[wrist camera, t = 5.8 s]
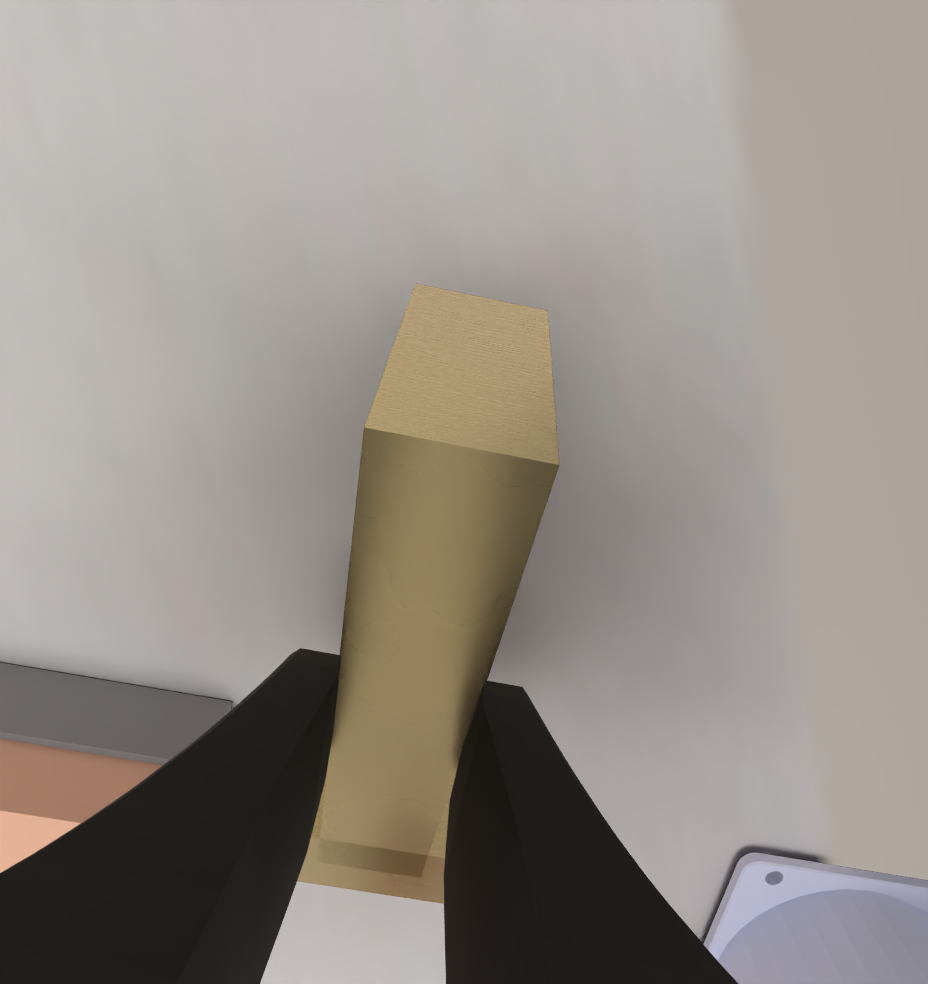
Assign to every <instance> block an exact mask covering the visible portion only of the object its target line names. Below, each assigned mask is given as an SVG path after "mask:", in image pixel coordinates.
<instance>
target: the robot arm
mask: <svg viewBox="0 0 928 984" xmlns="http://www.w3.org/2000/svg"><path fill="white" fill-rule="evenodd" d="M339 658H340V655H335V654H330V653H324V652H318V651H312V650H307V649H301V648H300V649H299V650H297V651H296V652H294V653H292V654H291V655H290V656H289V657H288V658H287V659H286V660H285V661H284V662H283V663H282V664H281V665H280V666H279V667H278V668H277V669H276V670H275V671H274V672H273V673H272V674H271V675H270V676H269V677H268V678H266V679H265V680H264V681H263V682H262V683H261V684H260V685H259V686H258V687H257V688H256V689H255V690H254V691H252V692H251V693H250V694H249V695H248V696H247V697H246V698H245V699H244V700H242V701H241V702H240V703H239V704H238V705H237V706H236V707H234V708H233V709H232V710H231V711H230V712H229V713H227V714H226V715H225V716H224V717H223V718H221V719H220V720H219V721H218V722H217V723H216V724H214V725H213V726H212V727H211V728H210V729H208V730H207V731H206V732H205V733H204V734H203V735H201V736H200V737H199V738H198V739H196V740H195V741H194V742H193V743H191V744H190V745H189V746H188V747H186V748H185V749H184V750H182V751H181V752H180V753H178V754H177V755H176V756H174V757H173V758H172V759H171V760H169V761H168V762H167V763H165V764H164V765H163V766H161V767H160V768H159V769H157V770H156V771H155V772H153V773H152V774H151V775H149V776H148V777H147V778H145V779H144V780H143V781H141V782H140V783H139V784H137V785H136V786H135V787H133V788H132V789H131V790H129V791H128V792H126V793H125V794H123V795H122V796H121V797H119V798H118V799H116V800H115V801H113V802H112V803H110V804H109V805H108V806H106V807H105V808H103V809H102V810H100V811H99V812H97V813H96V814H94V815H93V816H91V817H90V818H88V819H87V820H85V821H84V822H82V823H81V824H79V825H78V826H76V827H74V828H73V829H71V830H70V831H68V832H67V833H65V834H64V835H62V836H60V837H59V838H57V839H56V840H54V841H53V842H51V843H49V844H48V845H46V846H45V847H43V848H42V849H40V850H38V851H37V852H35V853H33V854H32V855H30V856H28V857H27V858H25V859H23V860H21V861H20V862H18V863H16V864H15V865H13V866H11V867H10V868H8V869H6V870H4V871H3V872H1V873H0V984H260V982H261V979H262V976H263V973H264V971H265V968H266V965H267V962H268V960H269V957H270V954H271V951H272V949H273V946H274V943H275V940H276V938H277V935H278V932H279V929H280V927H281V924H282V921H283V918H284V916H285V913H286V910H287V907H288V905H289V902H290V899H291V896H292V893H293V891H294V888H295V885H296V882H297V880H298V877H299V874H300V871H301V868H302V866H303V863H304V860H305V857H306V854H307V851H308V847H309V843H310V839H311V835H312V831H313V827H314V823H315V819H316V815H317V812H318V808H319V804H320V800H321V796H322V792H323V788H324V784H325V780H326V774H327V767H328V761H329V755H330V749H331V743H332V737H333V730H334V721H335V711H336V702H337V693H338V684H339V675H340V667H339ZM773 871H774V872H773ZM770 872H772V873H770ZM444 918H445V959H446V984H928V880H922V879H915V878H910V877H903V876H897V875H891V874H885V873H879V872H873V871H867V870H860V869H855V868H848V867H842V866H836V865H830V864H824V863H818V862H812V861H805V860H799V859H793V858H787V857H781V856H775V855H769V854H763V853H749V854H746V855H744V856H743V857H742V858H741V859H740V860H739V861H738V863H737V865H736V868H735V870H734V872H733V875H732V877H731V880H730V882H729V884H728V887H727V889H726V892H725V894H724V896H723V899H722V901H721V903H720V906H719V908H718V911H717V913H716V915H715V918H714V920H713V923H712V925H711V927H710V930H709V932H708V935H707V937H706V939H705V942H704V944H703V943H702V942H701V941H700V940H699V939H698V938H697V936H696V935H695V934H694V933H693V932H692V931H691V929H690V928H689V927H688V926H687V925H686V924H685V922H684V921H683V920H682V919H681V918H680V917H679V915H678V914H677V913H676V912H675V911H674V910H673V908H672V907H671V906H670V905H669V904H668V903H667V901H666V900H665V899H664V898H663V896H662V895H661V894H660V893H659V891H658V890H657V889H656V888H655V886H654V885H653V884H652V883H651V881H650V880H649V879H648V878H647V876H646V875H645V874H644V872H643V871H642V870H641V868H640V867H639V866H638V864H637V863H636V862H635V860H634V859H633V858H632V856H631V855H630V854H629V852H628V851H627V850H626V848H625V847H624V846H623V844H622V843H621V841H620V840H619V839H618V837H617V836H616V835H615V833H614V832H613V830H612V829H611V827H610V826H609V825H608V823H607V822H606V820H605V819H604V817H603V816H602V815H601V813H600V811H599V810H598V808H597V807H596V805H595V804H594V802H593V801H592V799H591V798H590V796H589V795H588V793H587V792H586V790H585V789H584V787H583V786H582V784H581V783H580V781H579V780H578V778H577V777H576V775H575V773H574V772H573V770H572V769H571V767H570V765H569V764H568V762H567V761H566V759H565V757H564V756H563V754H562V752H561V751H560V749H559V747H558V746H557V744H556V742H555V741H554V739H553V737H552V736H551V734H550V732H549V731H548V729H547V727H546V726H545V724H544V722H543V720H542V719H541V717H540V715H539V713H538V712H537V710H536V708H535V707H534V705H533V703H532V701H531V700H530V698H529V696H528V695H527V693H526V692H525V690H524V689H523V687H519V686H514V685H508V684H502V683H496V682H491V681H487V682H486V685H485V688H484V691H483V692H481V694H480V697H479V700H478V703H477V706H476V709H475V712H474V715H473V718H472V721H471V724H470V727H469V730H468V733H467V736H466V739H465V742H464V745H463V748H462V751H461V754H460V758H459V763H458V767H457V771H456V775H455V780H454V784H453V788H452V792H451V797H450V802H449V814H448V826H447V838H446V851H445V864H444Z"/></svg>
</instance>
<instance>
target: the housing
mask: <svg viewBox="0 0 928 984" xmlns="http://www.w3.org/2000/svg"><path fill="white" fill-rule="evenodd" d="M231 707H232V702H231V701H225V700H219V699H214V698H208V697H202V696H196V695H190V694H184V693H178V692H172V691H166V690H160V689H154V688H148V687H142V686H136V685H130V684H124V683H119V682H113V681H107V680H101V679H95V678H89V677H83V676H77V675H71V674H65V673H59V672H53V671H47V670H41V669H35V668H30V667H24V666H18V665H12V664H6V663H0V739H6V740H12V741H18V742H25V743H31V744H37V745H43V746H49V747H55V748H62V749H68V750H74V751H80V752H86V753H92V754H98V755H105V756H111V757H117V758H123V759H129V760H135V761H142V762H148V763H154V764H160V765H164V764H165V763H167V762H168V761H169V760H171V759H172V758H173V757H174V756H176V755H177V754H178V753H180V752H181V751H182V750H184V749H185V748H186V747H188V746H189V745H190V744H191V743H193V742H194V741H195V740H196V739H198V738H199V737H200V736H201V735H203V734H204V733H205V732H206V731H207V730H208V729H210V728H211V727H212V726H213V725H214V724H216V723H217V722H218V721H219V720H220V719H221V718H223V717H224V716H225V715H226V714H227V713H229V712H230V711H231Z"/></svg>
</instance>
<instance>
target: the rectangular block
mask: <svg viewBox="0 0 928 984" xmlns="http://www.w3.org/2000/svg"><path fill="white" fill-rule="evenodd" d="M558 467H559V456H558V442H557V429H556V415H555V402H554V388H553V375H552V361H551V348H550V334H549V321H548V311H547V310H542V309H537V308H532V307H527V306H523V305H518V304H513V303H508V302H503V301H498V300H493V299H489V298H484V297H479V296H474V295H469V294H464V293H459V292H455V291H450V290H445V289H440V288H435V287H430V286H425V285H421V284H415V286H414V289H413V292H412V295H411V298H410V300H409V303H408V306H407V309H406V312H405V314H404V317H403V320H402V323H401V326H400V328H399V331H398V334H397V337H396V340H395V342H394V345H393V348H392V351H391V354H390V356H389V359H388V362H387V365H386V368H385V370H384V373H383V376H382V379H381V382H380V384H379V387H378V390H377V393H376V396H375V398H374V401H373V404H372V407H371V410H370V413H369V415H368V418H367V421H366V424H365V427H364V434H363V443H362V452H361V462H360V471H359V480H358V490H357V499H356V508H355V518H354V527H353V536H352V546H351V555H350V564H349V574H348V583H347V592H346V602H345V611H344V620H343V630H342V639H341V648H340V658H339V667H340V675H339V684H338V693H337V702H336V711H335V721H334V730H333V737H332V743H331V749H330V755H329V761H328V767H327V774H326V780H325V784H324V788H323V792H322V796H321V800H320V804H319V808H318V812H317V815H316V819H315V823H314V827H313V831H312V835H311V839H310V843H309V847H308V851H307V854H306V857H305V860H304V863H303V866H302V868H301V871H300V874H299V877H298V880H297V881H301V882H307V883H313V884H320V885H326V886H333V887H339V888H346V889H352V890H359V891H365V892H372V893H378V894H385V895H391V896H398V897H404V898H411V899H417V900H424V901H430V902H437V903H443V904H444V864H445V851H446V838H447V826H448V814H449V802H450V797H451V792H452V788H453V784H454V780H455V775H456V771H457V767H458V763H459V758H460V754H461V751H462V748H463V745H464V742H465V739H466V736H467V733H468V730H469V727H470V724H471V721H472V718H473V715H474V712H475V709H476V706H477V703H478V700H479V697H480V694H481V692H483V691H484V688H485V685H486V682H487V679H488V676H489V673H490V670H491V667H492V664H493V661H494V658H495V655H496V652H497V649H498V646H499V643H500V640H501V637H502V634H503V631H504V628H505V625H506V622H507V619H508V616H509V613H510V610H511V607H512V604H513V601H514V598H515V595H516V592H517V589H518V586H519V583H520V580H521V577H522V574H523V571H524V568H525V565H526V562H527V559H528V556H529V554H530V551H531V548H532V545H533V542H534V539H535V536H536V533H537V530H538V527H539V524H540V521H541V518H542V515H543V512H544V509H545V506H546V503H547V500H548V497H549V494H550V491H551V488H552V485H553V482H554V479H555V476H556V473H557V470H558Z"/></svg>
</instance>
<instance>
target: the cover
mask: <svg viewBox="0 0 928 984" xmlns="http://www.w3.org/2000/svg"><path fill="white" fill-rule="evenodd" d="M161 766H163V765H160V764H154V763H148V762H142V761H135V760H129V759H123V758H117V757H111V756H105V755H98V754H92V753H86V752H80V751H74V750H68V749H62V748H55V747H49V746H43V745H37V744H31V743H25V742H18V741H12V740H6V739H0V873H1V872H3V871H4V870H6V869H8V868H10V867H11V866H13V865H15V864H16V863H18V862H20V861H21V860H23V859H25V858H27V857H28V856H30V855H32V854H33V853H35V852H37V851H38V850H40V849H42V848H43V847H45V846H46V845H48V844H49V843H51V842H53V841H54V840H56V839H57V838H59V837H60V836H62V835H64V834H65V833H67V832H68V831H70V830H71V829H73V828H74V827H76V826H78V825H79V824H81V823H82V822H84V821H85V820H87V819H88V818H90V817H91V816H93V815H94V814H96V813H97V812H99V811H100V810H102V809H103V808H105V807H106V806H108V805H109V804H110V803H112V802H113V801H115V800H116V799H118V798H119V797H121V796H122V795H123V794H125V793H126V792H128V791H129V790H131V789H132V788H133V787H135V786H136V785H137V784H139V783H140V782H141V781H143V780H144V779H145V778H147V777H148V776H149V775H151V774H152V773H153V772H155V771H156V770H157V769H159V768H160V767H161Z"/></svg>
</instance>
